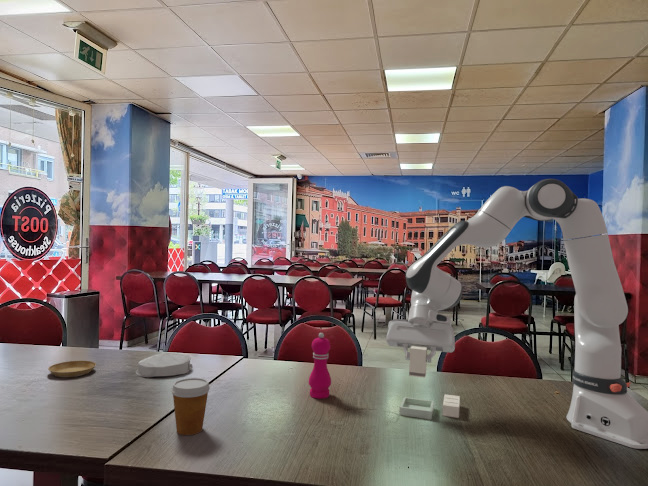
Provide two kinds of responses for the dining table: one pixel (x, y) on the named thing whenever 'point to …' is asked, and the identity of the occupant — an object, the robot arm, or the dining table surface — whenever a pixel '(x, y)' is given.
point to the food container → (164, 365)
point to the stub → (418, 361)
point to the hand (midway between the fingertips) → (418, 360)
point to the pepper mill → (320, 368)
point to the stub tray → (417, 408)
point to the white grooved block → (451, 405)
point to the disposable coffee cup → (190, 404)
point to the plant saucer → (72, 368)
